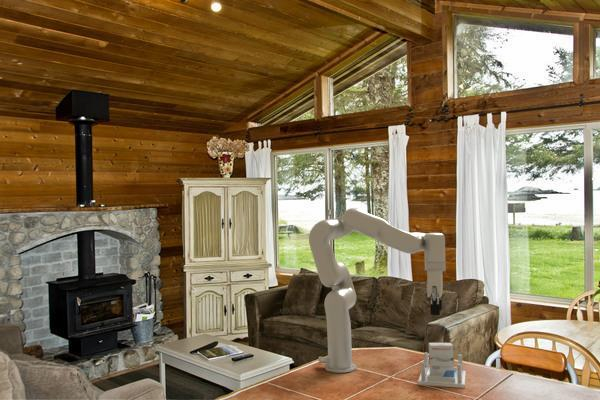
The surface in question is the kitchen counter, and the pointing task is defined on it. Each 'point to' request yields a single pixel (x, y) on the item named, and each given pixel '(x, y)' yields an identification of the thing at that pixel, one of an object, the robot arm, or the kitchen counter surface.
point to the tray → (442, 381)
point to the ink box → (441, 359)
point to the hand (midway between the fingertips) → (436, 312)
